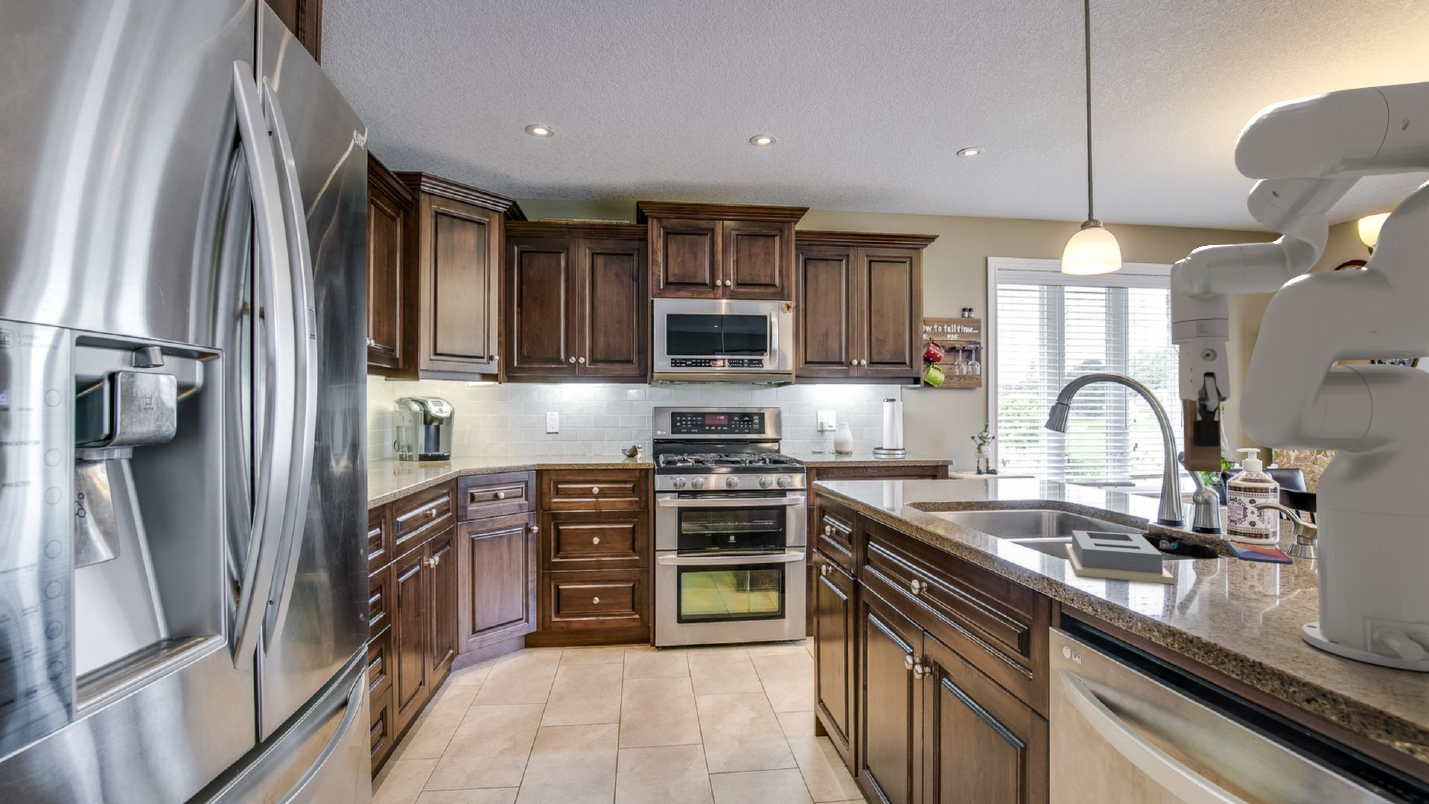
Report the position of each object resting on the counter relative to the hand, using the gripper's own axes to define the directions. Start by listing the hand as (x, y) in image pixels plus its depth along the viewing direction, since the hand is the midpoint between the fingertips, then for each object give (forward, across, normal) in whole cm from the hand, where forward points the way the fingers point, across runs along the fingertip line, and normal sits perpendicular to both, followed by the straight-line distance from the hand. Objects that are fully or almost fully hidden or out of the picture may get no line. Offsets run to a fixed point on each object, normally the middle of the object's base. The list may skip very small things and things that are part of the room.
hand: (1202, 444), depth 104 cm
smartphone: (+22, +22, -13) cm, 33 cm away
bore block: (+21, +2, +12) cm, 25 cm away
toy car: (+22, +19, 0) cm, 29 cm away
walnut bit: (+4, 0, 0) cm, 4 cm away
